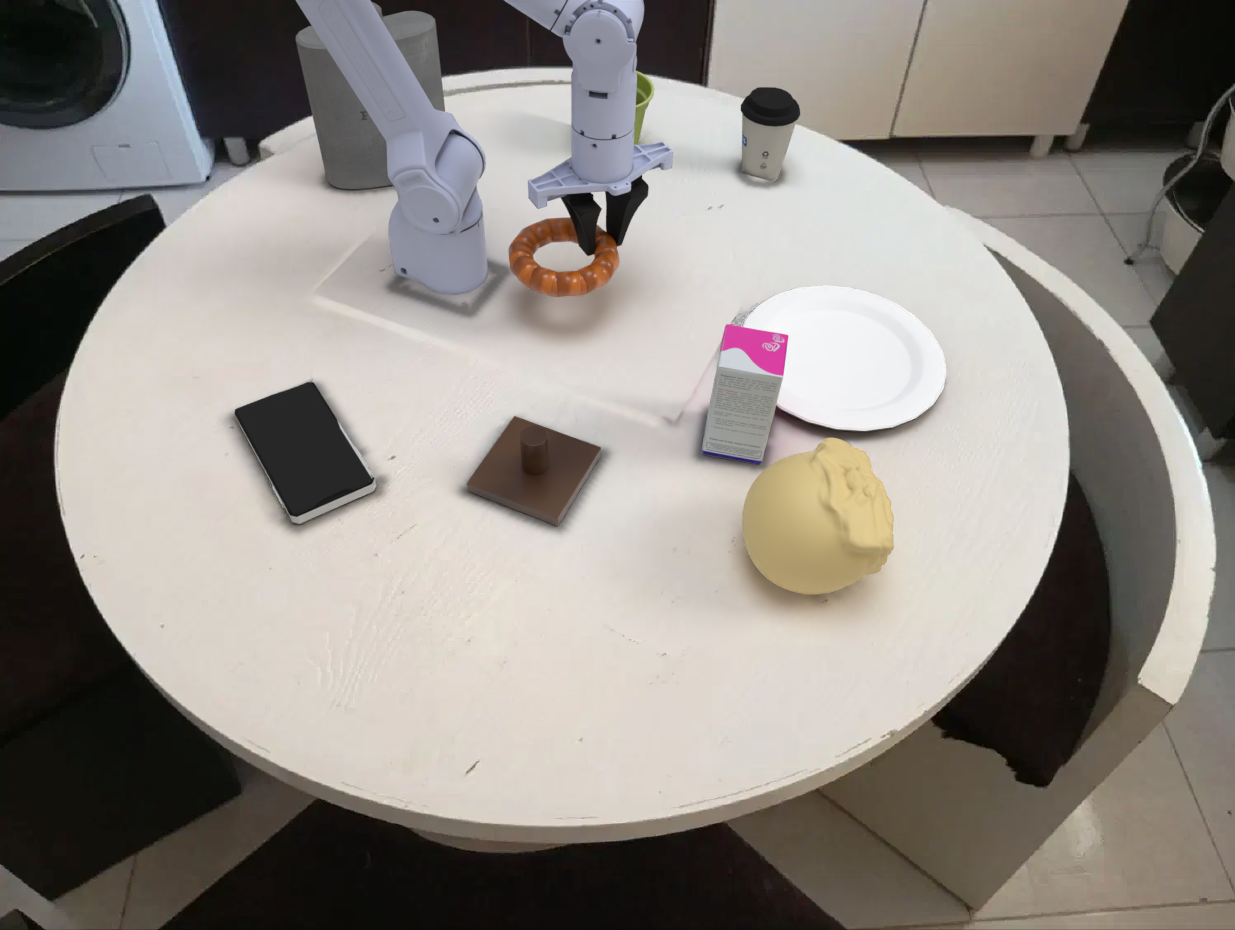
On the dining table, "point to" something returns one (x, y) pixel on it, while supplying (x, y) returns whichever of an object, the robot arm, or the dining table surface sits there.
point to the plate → (852, 358)
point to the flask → (340, 115)
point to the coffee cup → (767, 131)
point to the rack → (534, 470)
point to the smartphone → (304, 452)
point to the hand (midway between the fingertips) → (600, 245)
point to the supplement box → (744, 393)
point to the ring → (564, 280)
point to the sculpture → (818, 519)
